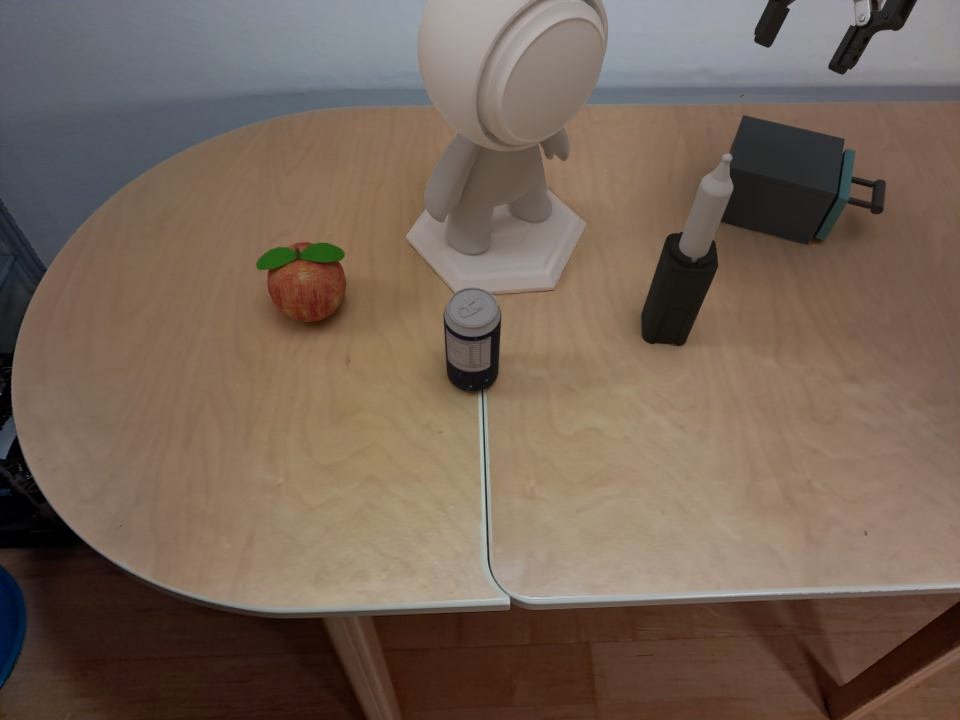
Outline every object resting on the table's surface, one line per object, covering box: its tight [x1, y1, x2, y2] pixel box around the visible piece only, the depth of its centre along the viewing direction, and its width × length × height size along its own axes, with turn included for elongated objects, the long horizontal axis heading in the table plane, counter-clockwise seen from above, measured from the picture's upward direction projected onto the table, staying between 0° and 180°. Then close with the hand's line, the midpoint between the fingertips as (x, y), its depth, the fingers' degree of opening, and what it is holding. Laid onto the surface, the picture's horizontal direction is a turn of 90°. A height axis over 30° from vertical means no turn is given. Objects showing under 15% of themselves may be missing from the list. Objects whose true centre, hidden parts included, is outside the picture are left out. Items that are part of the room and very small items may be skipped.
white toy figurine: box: [405, 0, 609, 296], centre depth 75 cm, size 20×23×35 cm
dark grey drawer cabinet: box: [720, 114, 846, 246], centre depth 89 cm, size 13×11×9 cm
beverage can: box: [442, 288, 502, 393], centre depth 72 cm, size 6×6×12 cm
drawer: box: [815, 148, 887, 241], centre depth 88 cm, size 16×9×7 cm, turn 69°
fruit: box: [255, 241, 347, 323], centre depth 78 cm, size 9×10×10 cm
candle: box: [640, 152, 733, 347], centre depth 71 cm, size 5×5×25 cm
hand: (796, 57), depth 66 cm, fingers open, 8 cm apart
